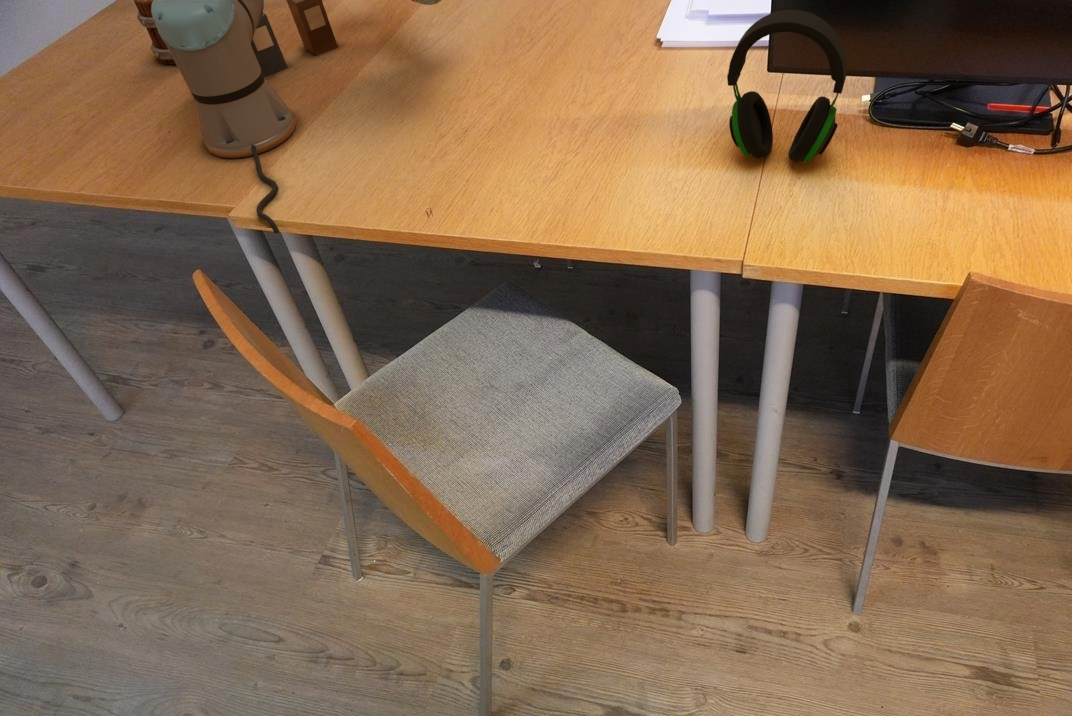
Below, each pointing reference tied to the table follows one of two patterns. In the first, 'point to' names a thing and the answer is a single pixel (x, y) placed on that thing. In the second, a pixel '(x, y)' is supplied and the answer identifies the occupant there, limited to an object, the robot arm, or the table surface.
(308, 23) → the line block
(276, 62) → the line block
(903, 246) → the table surface
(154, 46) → the mug
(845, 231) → the table surface
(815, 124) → the headphones
